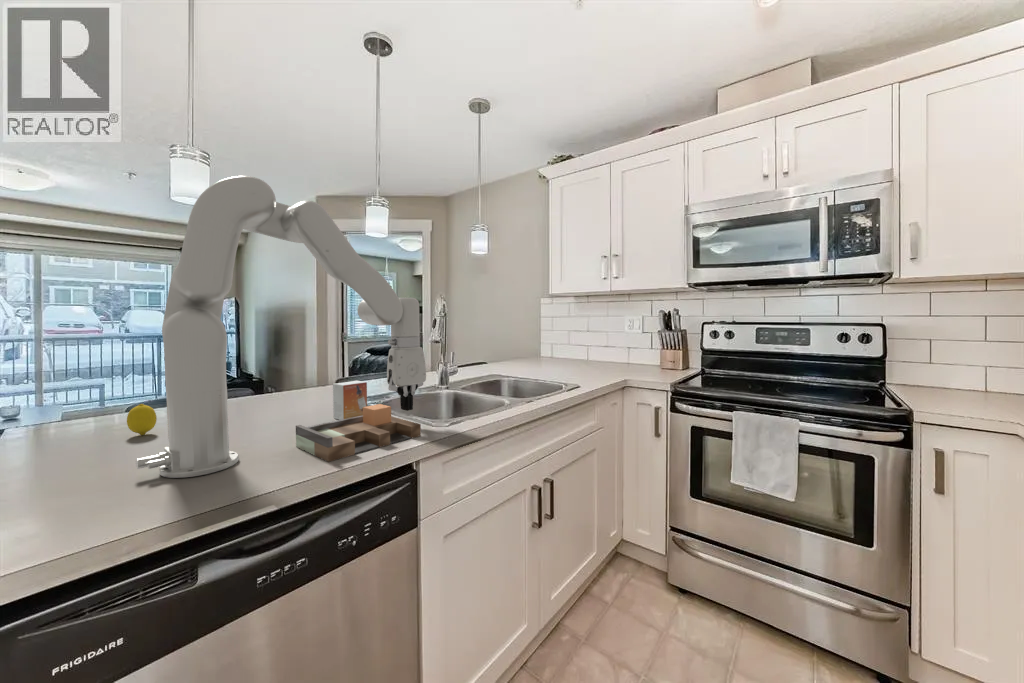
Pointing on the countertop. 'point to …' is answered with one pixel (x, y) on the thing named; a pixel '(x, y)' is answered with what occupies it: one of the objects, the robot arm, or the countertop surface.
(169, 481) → the countertop surface
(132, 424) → the lemon
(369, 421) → the block
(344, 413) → the small box
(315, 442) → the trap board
